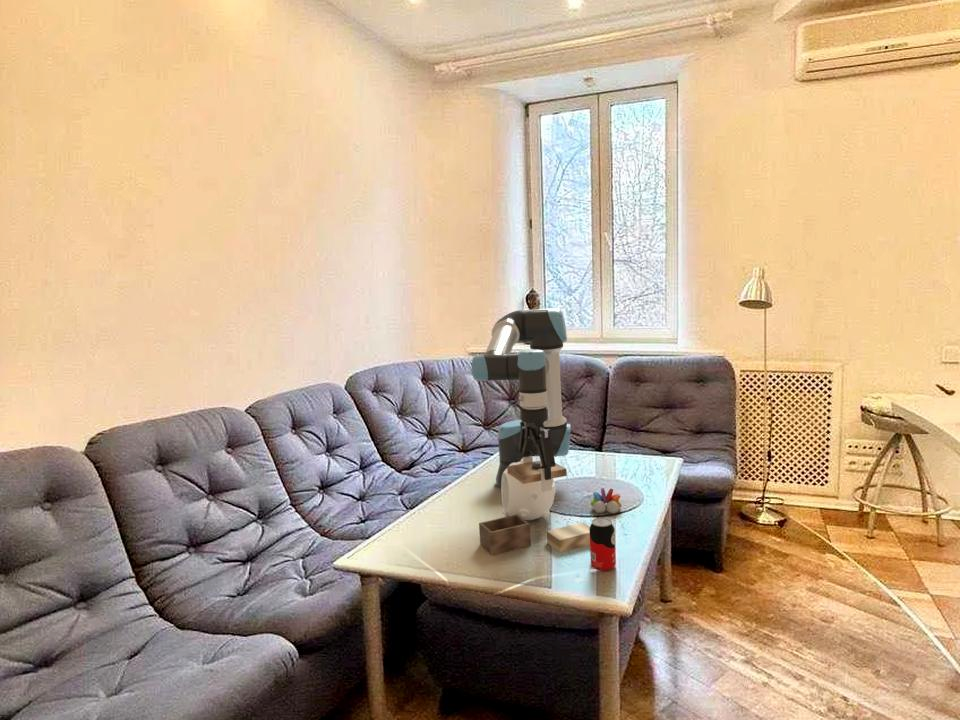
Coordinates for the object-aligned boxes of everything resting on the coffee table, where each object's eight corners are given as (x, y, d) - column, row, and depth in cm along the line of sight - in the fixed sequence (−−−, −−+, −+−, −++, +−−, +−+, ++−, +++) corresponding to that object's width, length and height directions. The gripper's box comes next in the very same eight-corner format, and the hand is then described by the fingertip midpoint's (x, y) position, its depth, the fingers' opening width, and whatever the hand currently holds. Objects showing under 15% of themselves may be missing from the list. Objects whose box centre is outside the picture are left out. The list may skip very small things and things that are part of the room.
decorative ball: (565, 528, 177) (562, 465, 175) (509, 535, 174) (505, 471, 172) (547, 505, 197) (544, 448, 194) (496, 511, 194) (493, 453, 192)
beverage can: (600, 574, 148) (598, 528, 147) (586, 564, 154) (584, 520, 152) (620, 568, 151) (619, 523, 149) (606, 558, 156) (604, 515, 155)
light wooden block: (560, 554, 161) (559, 540, 160) (547, 544, 167) (546, 531, 166) (597, 544, 165) (596, 530, 165) (583, 535, 172) (582, 522, 171)
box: (491, 557, 161) (490, 533, 160) (480, 546, 168) (479, 522, 167) (530, 547, 165) (529, 523, 165) (518, 537, 173) (516, 514, 172)
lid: (523, 483, 157) (523, 472, 156) (507, 473, 166) (507, 462, 166) (566, 475, 161) (566, 464, 161) (548, 465, 171) (548, 455, 171)
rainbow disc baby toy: (622, 515, 185) (621, 493, 184) (590, 514, 187) (589, 492, 186) (621, 505, 193) (620, 484, 192) (591, 504, 195) (590, 483, 194)
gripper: (504, 401, 171) (508, 475, 174) (540, 415, 149) (544, 499, 152) (527, 398, 174) (531, 471, 176) (566, 412, 152) (570, 494, 155)
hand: (537, 484), depth 164 cm, fingers closed on lid, 10 cm apart
